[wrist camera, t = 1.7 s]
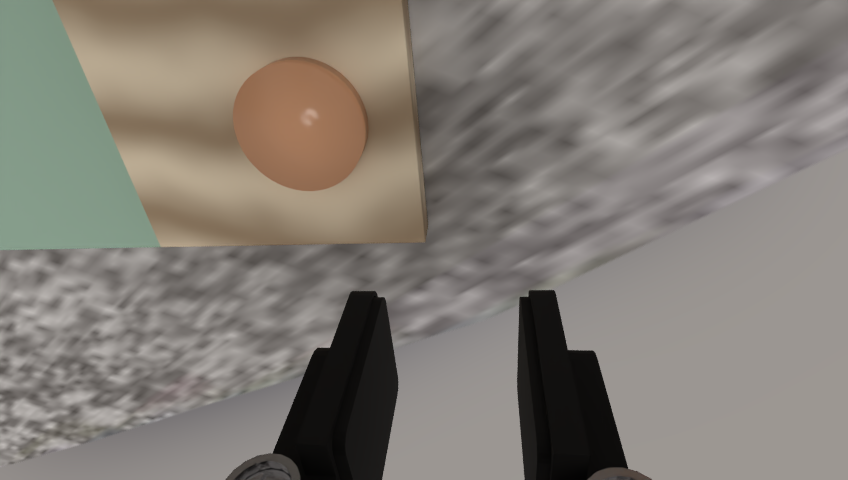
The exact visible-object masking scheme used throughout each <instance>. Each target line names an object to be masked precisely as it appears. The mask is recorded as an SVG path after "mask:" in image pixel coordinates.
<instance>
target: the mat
mask: <svg viewBox="0 0 848 480" xmlns="http://www.w3.org/2000/svg"><path fill="white" fill-rule="evenodd" d="M136 247H161V246H160V244H159V242H158V240H157V237H156V235H155V233H154V230H153V228H152V226H151V224H150V221H149V219H148V217H147V215H146V212H145V210H144V208H143V205H142V203H141V201H140V199H139V196H138V194H137V192H136V189H135V187H134V185H133V183H132V180H131V178H130V176H129V174H128V171H127V169H126V167H125V164H124V162H123V160H122V158H121V155H120V153H119V151H118V149H117V146H116V144H115V142H114V139H113V137H112V135H111V133H110V130H109V128H108V126H107V123H106V121H105V119H104V117H103V114H102V112H101V110H100V108H99V105H98V103H97V101H96V98H95V96H94V94H93V92H92V89H91V87H90V85H89V83H88V80H87V78H86V76H85V73H84V71H83V69H82V67H81V64H80V62H79V60H78V58H77V55H76V53H75V51H74V48H73V46H72V44H71V42H70V39H69V37H68V35H67V32H66V30H65V28H64V26H63V23H62V21H61V19H60V17H59V14H58V12H57V10H56V7H55V5H54V3H53V1H52V0H0V250H25V249H81V248H136Z"/></svg>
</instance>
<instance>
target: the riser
mask: <svg viewBox="0 0 848 480" xmlns="http://www.w3.org/2000/svg"><path fill="white" fill-rule="evenodd" d="M52 1H53V3H54V5H55V7H56V10H57V12H58V14H59V17H60V19H61V21H62V23H63V26H64V28H65V30H66V32H67V35H68V37H69V39H70V42H71V44H72V46H73V48H74V51H75V53H76V55H77V58H78V60H79V62H80V64H81V67H82V69H83V71H84V73H85V76H86V78H87V80H88V83H89V85H90V87H91V89H92V92H93V94H94V96H95V98H96V101H97V103H98V105H99V108H100V110H101V112H102V114H103V117H104V119H105V121H106V123H107V126H108V128H109V130H110V133H111V135H112V137H113V139H114V142H115V144H116V146H117V149H118V151H119V153H120V155H121V158H122V160H123V162H124V164H125V167H126V169H127V171H128V174H129V176H130V178H131V180H132V183H133V185H134V187H135V189H136V192H137V194H138V196H139V199H140V201H141V203H142V205H143V208H144V210H145V212H146V215H147V217H148V219H149V221H150V224H151V226H152V228H153V230H154V233H155V235H156V237H157V240H158V242H159V244H160V246H161V247H193V246H249V245H304V244H360V243H415V242H425V240H426V235H427V229H428V220H427V209H426V198H425V187H424V176H423V165H422V154H421V143H420V132H419V121H418V110H417V99H416V88H415V77H414V66H413V55H412V44H411V33H410V22H409V11H408V0H52ZM287 57H306V58H311V59H315V60H318V61H321V62H323V63H326V64H327V65H329V66H331V67H333V68H334V69H336V70H337V71H339V72H340V73H341V74H342V75H343V76H344V77H346V78H347V79H348V80H349V82H350V83H351V84H352V85H353V86H354V88H355V89H356V91H357V92H358V94H359V95H360V97H361V99H362V101H363V104H364V106H365V109H366V113H367V117H368V127H369V128H368V139H367V143H366V146H365V149H364V152H363V153H362V155H361V157H360V159H359V161H358V163H357V165H356V167H355V168H354V169H353V171H352V172H351V173H350V174H349V176H348V177H347V178H345V179H344V180H343V181H342V182H340V183H338V184H337V185H335V186H333V187H330V188H327V189H323V190H318V191H301V190H295V189H291V188H287V187H285V186H282V185H280V184H278V183H276V182H274V181H272V180H271V179H269V178H268V177H266V176H265V175H263V174H262V173H261V172H260V171H259V170H258V169H257V168H256V167H255V166H254V165H253V164H252V163H251V162H250V161H249V159H248V158H247V157H246V155H245V154H244V152H243V150H242V148H241V147H240V145H239V142H238V140H237V137H236V134H235V130H234V124H233V108H234V102H235V99H236V96H237V93H238V91H239V89H240V88H241V86H242V85H243V83H244V82H245V81H246V80H247V79H248V78H249V77H250V76H251V75H252V74H254V73H255V72H256V71H258V70H259V69H261V68H263V67H264V66H266V65H268V64H269V63H271V62H274V61H276V60H279V59H282V58H287Z"/></svg>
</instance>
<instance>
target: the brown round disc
mask: <svg viewBox="0 0 848 480" xmlns="http://www.w3.org/2000/svg"><path fill="white" fill-rule="evenodd" d="M233 124H234V130H235V134H236V137H237V140H238V142H239V145H240V147H241V148H242V150H243V152H244V154H245V155H246V157H247V158H248V159H249V161H250V162H251V163H252V164H253V165H254V166H255V167H256V168H257V169H258V170H259V171H260V172H261V173H262V174H263V175H265V176H266V177H268V178H269V179H271V180H272V181H274V182H276V183H278V184H280V185H282V186H285V187H287V188H291V189H295V190H301V191H318V190H323V189H327V188H330V187H333V186H335V185H337V184H338V183H340V182H342V181H343V180H344V179H345V178H347V177H348V176H349V174H350V173H351V172H352V171H353V169H354V168H355V167H356V165H357V163H358V161H359V159H360V157H361V155H362V153H363V152H364V149H365V146H366V143H367V139H368V128H369V127H368V117H367V113H366V109H365V106H364V104H363V101H362V99H361V97H360V95H359V94H358V92H357V91H356V89H355V88H354V86H353V85H352V84H351V83H350V82H349V80H348V79H347V78H346V77H344V76H343V75H342V74H341V73H340V72H339V71H337V70H336V69H334V68H333V67H331V66H329V65H327V64H326V63H323V62H321V61H318V60H315V59H311V58H306V57H287V58H282V59H279V60H276V61H274V62H271V63H269V64H268V65H266V66H264V67H263V68H261V69H259V70H258V71H256V72H255V73H254V74H252V75H251V76H250V77H249V78H248V79H247V80H246V81H245V82H244V83H243V85H242V86H241V88H240V89H239V91H238V93H237V96H236V99H235V102H234V108H233Z"/></svg>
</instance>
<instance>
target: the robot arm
mask: <svg viewBox="0 0 848 480" xmlns="http://www.w3.org/2000/svg"><path fill="white" fill-rule="evenodd" d="M517 374H518V375H517V390H518V402H519V403H518V404H519V416H520V427H521V439H522V452H523V464H524V475H525V480H652V479H650V478H649V477H647V476H645V475H643V474H641V473H639V472H637V471H634V470H630V469H628V467H627V463H626V459H625V456H624V452H623V449H622V445H621V441H620V438H619V434H618V431H617V427H616V424H615V420H614V417H613V413H612V409H611V406H610V402H609V399H608V395H607V392H606V388H605V385H604V381H603V377H602V374H601V370H600V366H599V363H598V360H597V357H596V354H595V352H594V351H578V350H576V351H575V350H567V345H566V340H565V335H564V331H563V326H562V322H561V316H560V312H559V307H558V302H557V298H556V294H555V291H554V290H530V291H529V297H520V300H519V337H518V372H517ZM397 392H398V375H397V369H396V363H395V356H394V350H393V343H392V337H391V331H390V325H389V318H388V312H387V306H386V300H385V298H384V297H378V296H377V293H376V292H375V291H352V292H351V293H350V295H349V298H348V300H347V303H346V306H345V309H344V311H343V314H342V317H341V320H340V322H339V325H338V328H337V330H336V333H335V336H334V339H333V341H332V344H331V347H330V348H317V349H316V350H315V351H314V353H313V355H312V357H311V359H310V362H309V364H308V367H307V369H306V372H305V374H304V377H303V380H302V382H301V384H300V387H299V389H298V392H297V394H296V397H295V399H294V402H293V404H292V407H291V409H290V412H289V414H288V416H287V419H286V421H285V424H284V426H283V429H282V431H281V434H280V436H279V439H278V441H277V444H276V446H275V449H274V451H273V454H271V453H270V454H264V455H259V456H256V457H254V458H252V459H249V460H247V461H245V462H244V463H243V464H241V465H240V466H238V467H237V468H236V469H234V470H233V472H232V473H231V474H230V475H229V476H228V477H227V478H226V480H382V476H383V471H384V465H385V459H386V454H387V449H388V443H389V438H390V432H391V427H392V421H393V416H394V410H395V405H396V399H397Z"/></svg>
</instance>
